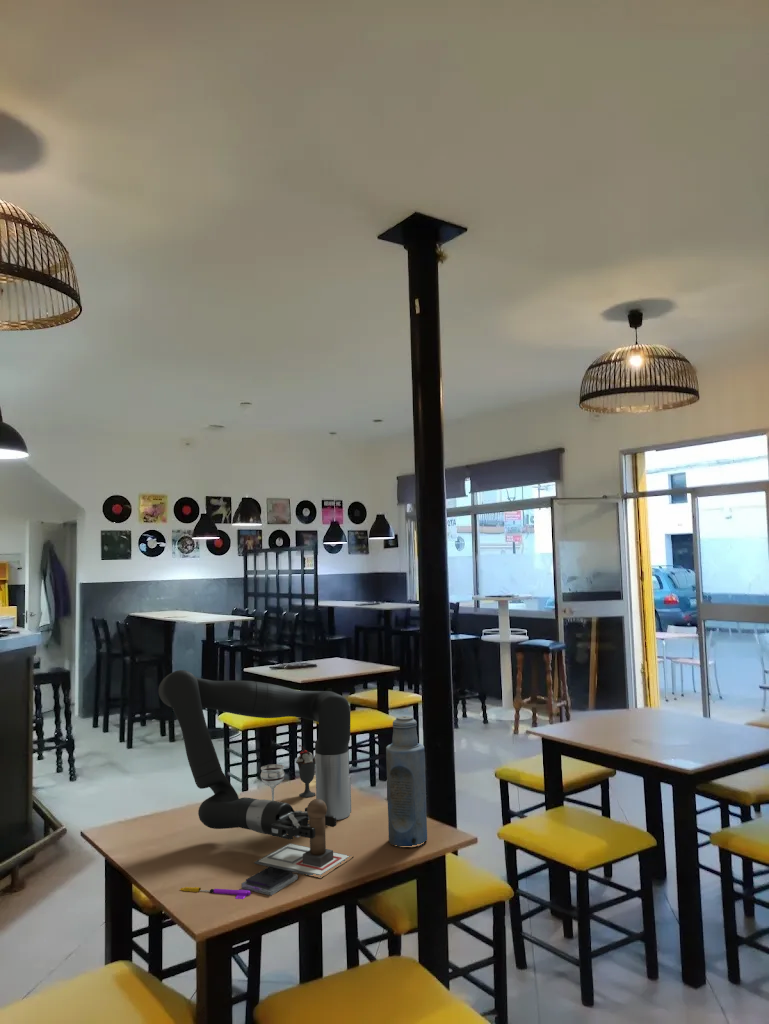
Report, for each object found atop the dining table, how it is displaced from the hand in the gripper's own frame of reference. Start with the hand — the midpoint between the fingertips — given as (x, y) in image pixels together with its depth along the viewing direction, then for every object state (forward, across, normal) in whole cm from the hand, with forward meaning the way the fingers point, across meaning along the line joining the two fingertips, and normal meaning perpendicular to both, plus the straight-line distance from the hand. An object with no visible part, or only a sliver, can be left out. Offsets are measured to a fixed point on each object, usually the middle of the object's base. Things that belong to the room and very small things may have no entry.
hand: (325, 827), depth 162 cm
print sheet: (-6, 0, +8) cm, 10 cm away
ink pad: (-5, -14, +8) cm, 17 cm away
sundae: (-36, +41, +8) cm, 55 cm away
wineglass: (-36, +25, +8) cm, 45 cm away
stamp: (-2, 0, +8) cm, 8 cm away
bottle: (+10, +21, +8) cm, 25 cm away
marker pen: (-13, -23, +9) cm, 28 cm away
